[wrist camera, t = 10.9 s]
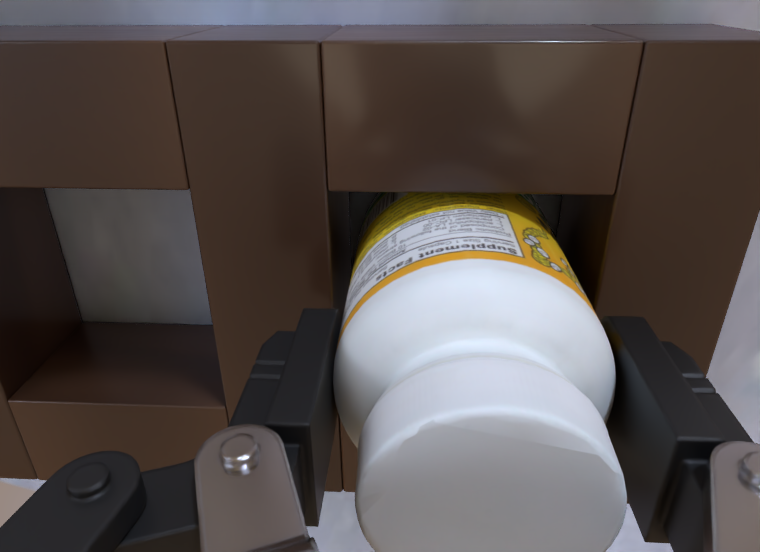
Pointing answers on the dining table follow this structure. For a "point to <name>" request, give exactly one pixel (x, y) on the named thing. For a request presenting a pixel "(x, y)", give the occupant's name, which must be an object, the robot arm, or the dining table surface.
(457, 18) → the dining table surface
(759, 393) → the dining table surface
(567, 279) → the supplement bottle
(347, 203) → the holder
